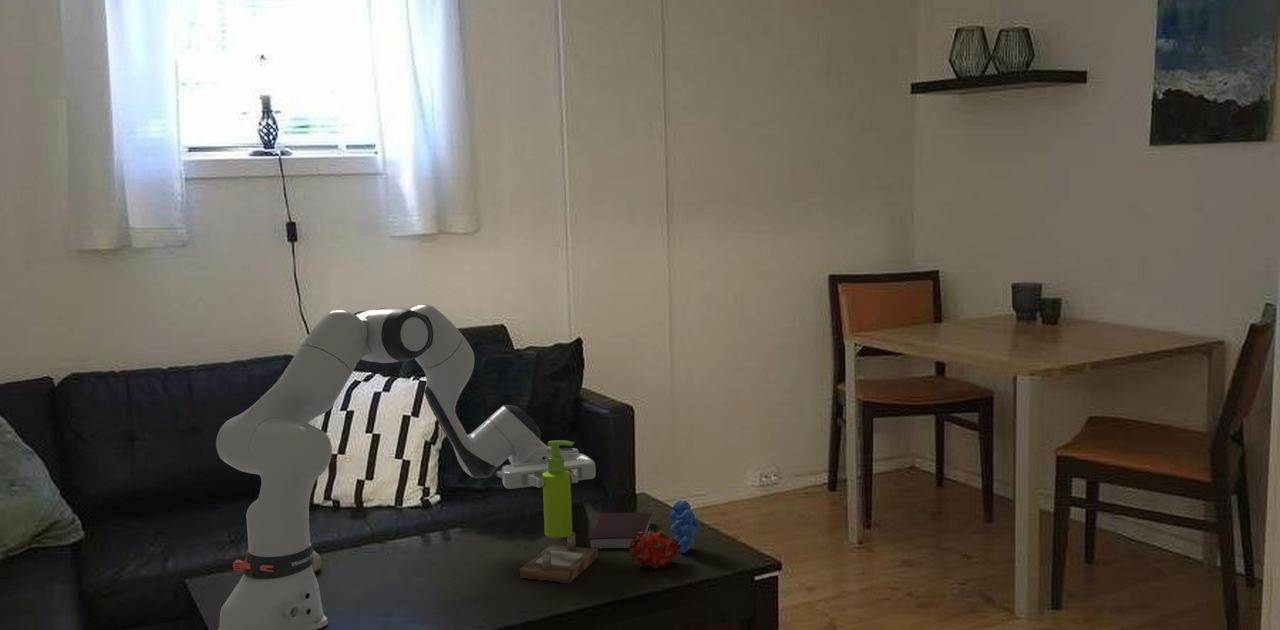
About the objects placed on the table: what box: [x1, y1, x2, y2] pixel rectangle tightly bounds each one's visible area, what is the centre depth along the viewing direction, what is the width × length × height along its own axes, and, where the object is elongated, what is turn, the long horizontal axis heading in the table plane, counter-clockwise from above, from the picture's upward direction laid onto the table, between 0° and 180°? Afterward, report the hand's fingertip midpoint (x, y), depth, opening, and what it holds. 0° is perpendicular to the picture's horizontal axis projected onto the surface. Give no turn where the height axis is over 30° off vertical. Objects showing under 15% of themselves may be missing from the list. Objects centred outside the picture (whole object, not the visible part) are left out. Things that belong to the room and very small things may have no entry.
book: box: [587, 512, 652, 549], centre depth 259 cm, size 12×19×3 cm, turn 174°
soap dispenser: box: [542, 439, 575, 539], centre depth 237 cm, size 6×7×20 cm
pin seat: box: [519, 531, 599, 584], centre depth 238 cm, size 16×11×6 cm
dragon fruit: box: [628, 529, 681, 570], centre depth 238 cm, size 8×8×12 cm
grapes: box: [669, 500, 702, 554], centre depth 246 cm, size 12×7×12 cm, turn 17°
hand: (558, 481), depth 235 cm, fingers closed on soap dispenser, 6 cm apart
